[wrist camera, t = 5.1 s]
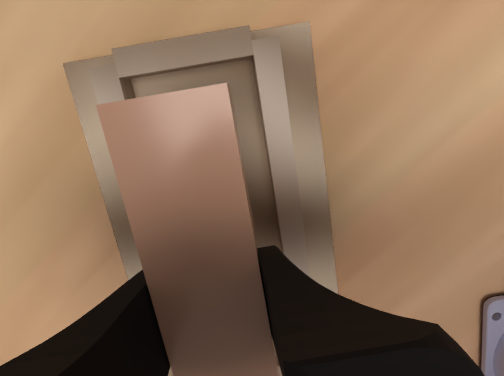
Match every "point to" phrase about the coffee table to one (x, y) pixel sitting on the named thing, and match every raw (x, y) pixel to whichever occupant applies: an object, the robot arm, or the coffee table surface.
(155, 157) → the clay strip
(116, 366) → the robot arm
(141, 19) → the coffee table surface
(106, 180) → the framed rectangular tray
